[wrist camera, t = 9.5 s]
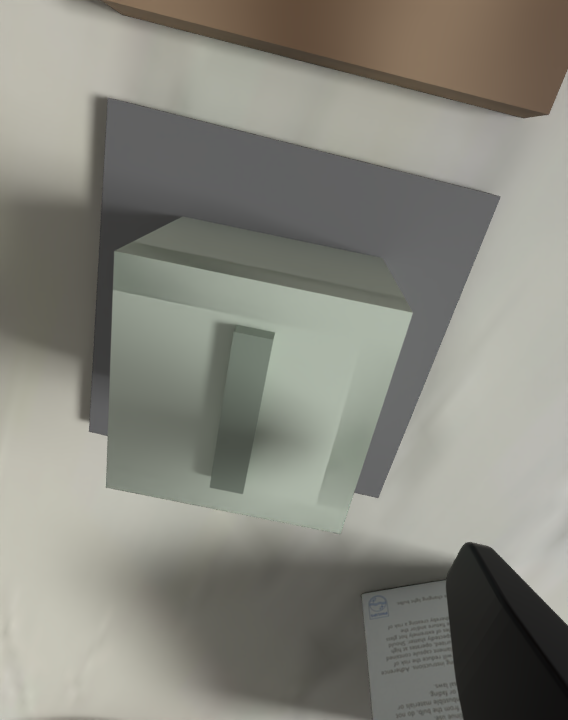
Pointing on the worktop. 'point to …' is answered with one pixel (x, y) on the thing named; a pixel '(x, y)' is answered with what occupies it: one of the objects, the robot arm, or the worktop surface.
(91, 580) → the worktop surface
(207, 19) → the post stand
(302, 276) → the sage cube with ridge
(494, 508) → the worktop surface
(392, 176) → the mat
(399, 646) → the light bulb box
